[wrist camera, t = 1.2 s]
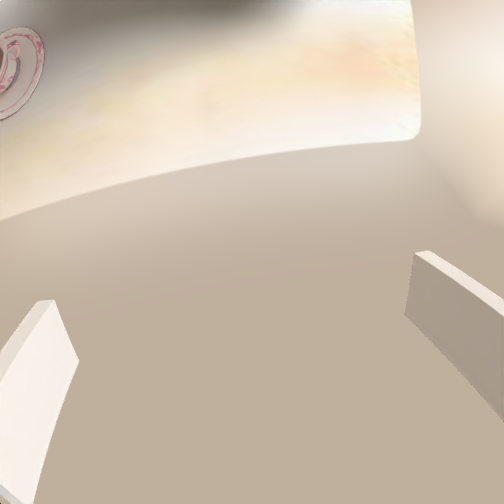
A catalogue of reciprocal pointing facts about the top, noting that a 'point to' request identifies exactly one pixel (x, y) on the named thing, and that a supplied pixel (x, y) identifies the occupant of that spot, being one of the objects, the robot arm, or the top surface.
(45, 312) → the robot arm
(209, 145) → the top surface
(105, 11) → the top surface
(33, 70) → the teacup
